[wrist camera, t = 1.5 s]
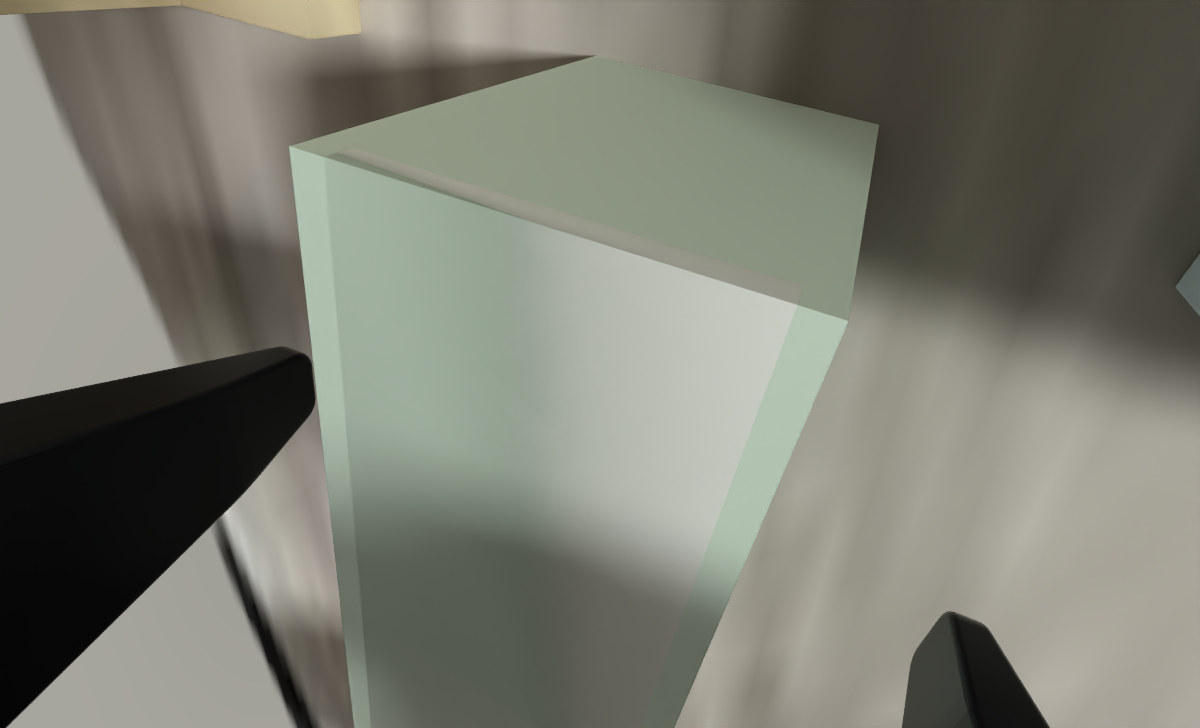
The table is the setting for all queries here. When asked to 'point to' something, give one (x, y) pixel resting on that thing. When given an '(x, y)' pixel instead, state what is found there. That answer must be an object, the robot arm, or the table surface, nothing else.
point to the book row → (1191, 285)
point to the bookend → (230, 12)
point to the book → (565, 379)
